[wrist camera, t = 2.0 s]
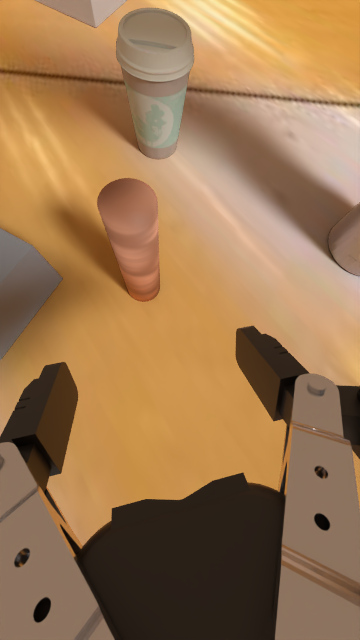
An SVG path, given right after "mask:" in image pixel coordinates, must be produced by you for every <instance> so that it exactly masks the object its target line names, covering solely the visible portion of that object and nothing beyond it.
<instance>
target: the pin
mask: <svg viewBox="0 0 360 640" xmlns="http://www.w3.org/2000/svg"><path fill="white" fill-rule="evenodd" d="M97 205H98V209H99V212H100V215H101V218H102V221H103V223H104V226H105V229H106V232H107V234H108V237H109V240H110V243H111V245H112V248H113V251H114V254H115V256H116V259H117V262H118V265H119V267H120V270H121V273H122V276H123V278H124V281H125V284H126V287H127V290H128V292H129V294H130V296H131V297H132V298H134V299H135V300H137V301H142V302H145V301H149V300H152V299H153V298H155V297H156V296H157V294H158V292H159V290H160V273H159V237H158V202H157V197H156V194H155V192H154V191H153V189H152V188H151V187H150V186H149V185H147V184H146V183H144V182H142V181H140V180H137V179H131V178H124V179H118V180H115V181H113V182H111V183H109V184H107V185H106V186H105V187H104V188H103V189H102V190H101V192H100V194H99V196H98V201H97Z"/></svg>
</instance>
